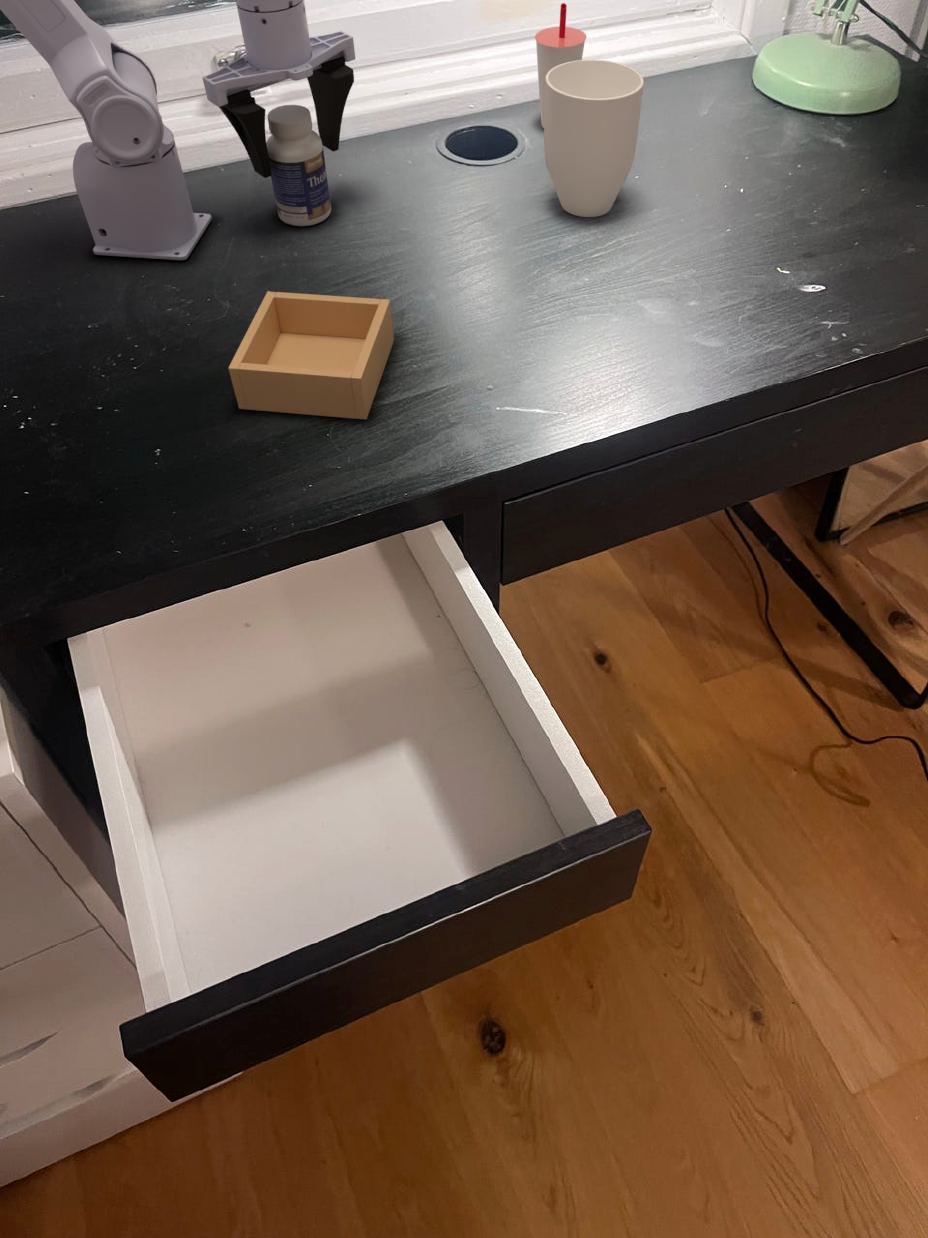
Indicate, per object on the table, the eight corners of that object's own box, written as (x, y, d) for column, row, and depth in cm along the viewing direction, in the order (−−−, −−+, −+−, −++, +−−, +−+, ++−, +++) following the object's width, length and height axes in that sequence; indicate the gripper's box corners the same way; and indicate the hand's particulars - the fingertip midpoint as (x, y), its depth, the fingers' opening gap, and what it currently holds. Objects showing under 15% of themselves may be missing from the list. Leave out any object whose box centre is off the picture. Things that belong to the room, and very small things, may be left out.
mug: (645, 218, 94) (661, 88, 84) (561, 235, 92) (568, 105, 83) (596, 164, 101) (606, 39, 91) (518, 180, 99) (520, 54, 90)
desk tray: (238, 408, 77) (227, 367, 74) (275, 331, 84) (267, 290, 80) (366, 419, 76) (360, 378, 73) (394, 340, 82) (390, 299, 79)
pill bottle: (323, 230, 94) (307, 128, 86) (271, 225, 95) (251, 124, 87) (338, 202, 97) (325, 102, 90) (288, 198, 98) (270, 98, 90)
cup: (578, 136, 105) (586, 13, 95) (529, 134, 105) (532, 12, 96) (582, 114, 108) (590, -7, 99) (535, 112, 109) (538, -8, 99)
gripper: (218, 37, 76) (253, 201, 87) (366, -10, 82) (382, 149, 92) (176, 12, 80) (215, 173, 91) (321, -31, 85) (341, 125, 96)
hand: (297, 159), depth 92 cm, fingers open, 7 cm apart
